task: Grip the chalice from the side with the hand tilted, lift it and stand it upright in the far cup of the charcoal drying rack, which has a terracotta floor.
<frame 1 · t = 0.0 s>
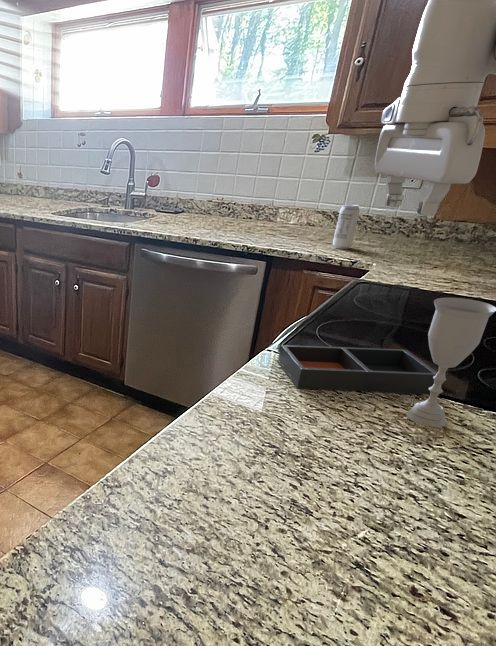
hand: (408, 210, 79), 29 cm above the worktop, tool pointing down, fingers open, 8 cm apart
rack: (350, 377, 93), on the worktop
energy drink can: (341, 248, 192), on the worktop
chalice: (425, 419, 79), on the worktop
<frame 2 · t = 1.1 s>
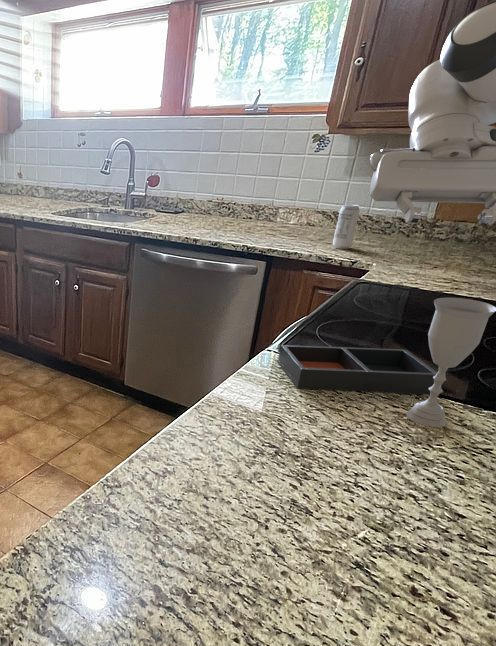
hand: (450, 221, 79), 27 cm above the worktop, tool tilted 45°, fingers open, 8 cm apart
nothing on the worktop moved.
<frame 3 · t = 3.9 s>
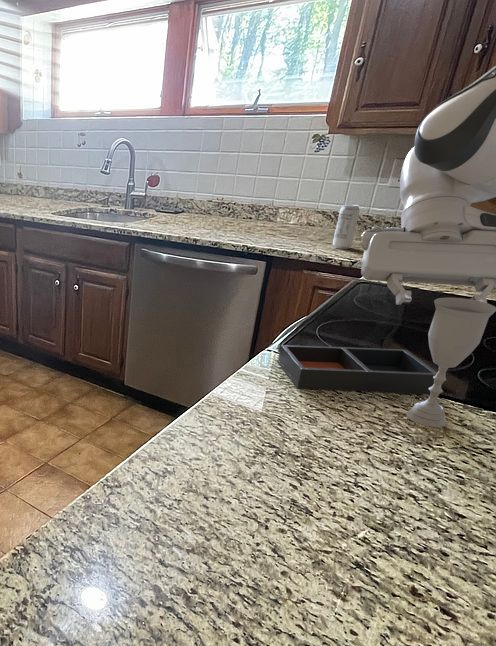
hand: (440, 305, 79), 16 cm above the worktop, tool tilted 45°, fingers open, 8 cm apart
nothing on the worktop moved.
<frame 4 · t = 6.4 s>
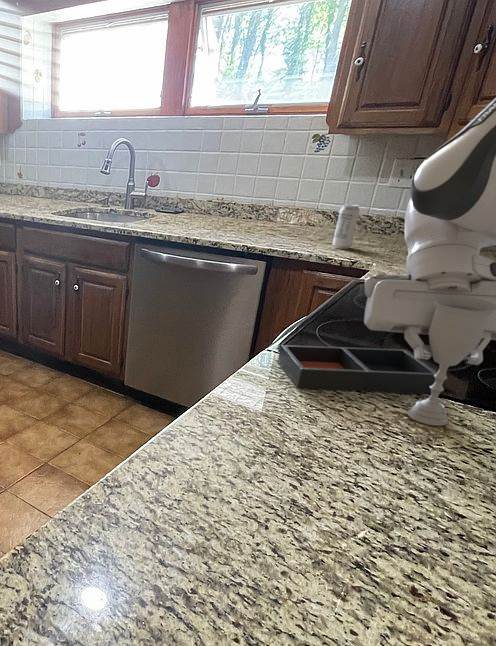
hand: (448, 360, 75), 10 cm above the worktop, tool tilted 45°, fingers closed on chalice, 5 cm apart
chalice: (427, 418, 79), on the worktop, touching gripper
everything else where it was.
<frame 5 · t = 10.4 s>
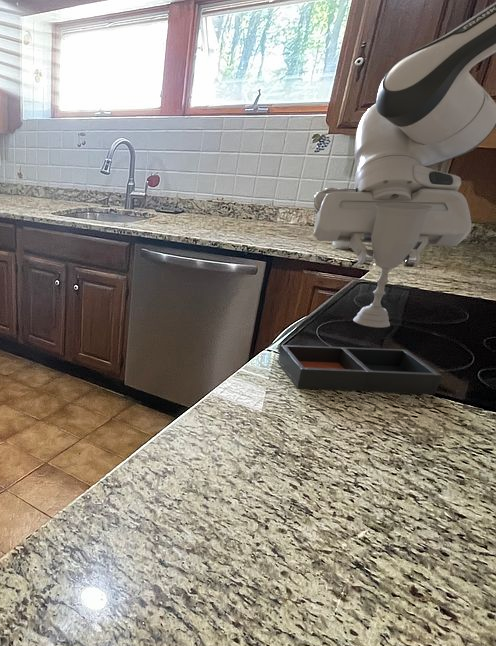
hand: (388, 263, 79), 22 cm above the worktop, tool tilted 45°, fingers closed on chalice, 5 cm apart
chalice: (371, 323, 84), point 12 cm above the worktop, touching gripper
everything else where it was.
when the fingers open (10 cm above the worktop, at t = 14.8 s): chalice stays where it is, resting on rack.
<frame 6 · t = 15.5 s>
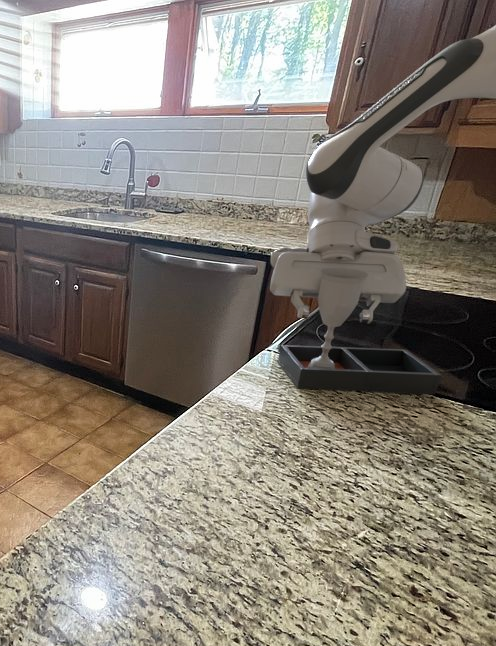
hand: (334, 319, 89), 11 cm above the worktop, tool tilted 45°, fingers open, 8 cm apart
chalice: (320, 373, 93), point 1 cm above the worktop, touching rack
everything else where it was.
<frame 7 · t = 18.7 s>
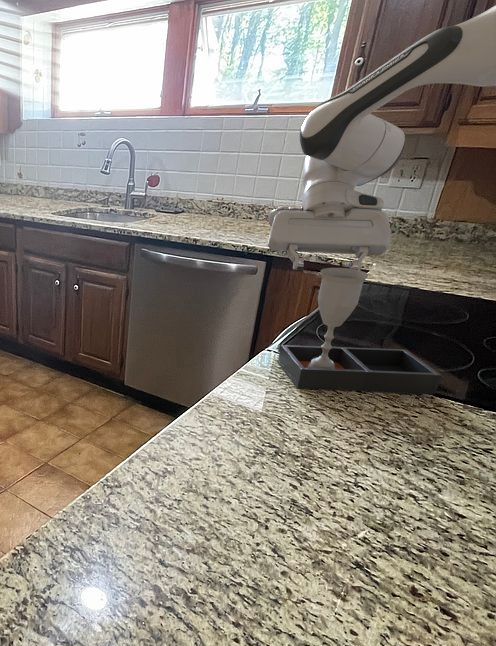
hand: (326, 269, 98), 16 cm above the worktop, tool tilted 45°, fingers open, 8 cm apart
nothing on the worktop moved.
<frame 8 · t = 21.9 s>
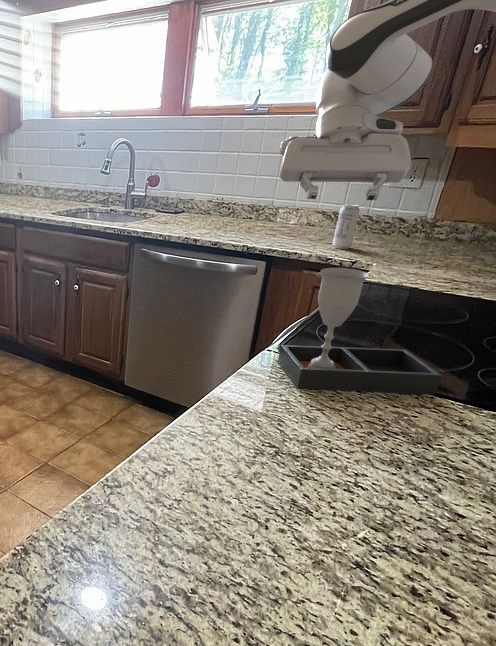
hand: (341, 197, 93), 29 cm above the worktop, tool tilted 45°, fingers open, 8 cm apart
nothing on the worktop moved.
at the end: chalice 0.0 cm from the target spot in the rack, point 0.6 cm above the rack's base; chalice tilted 0°; the gripper is holding nothing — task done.
